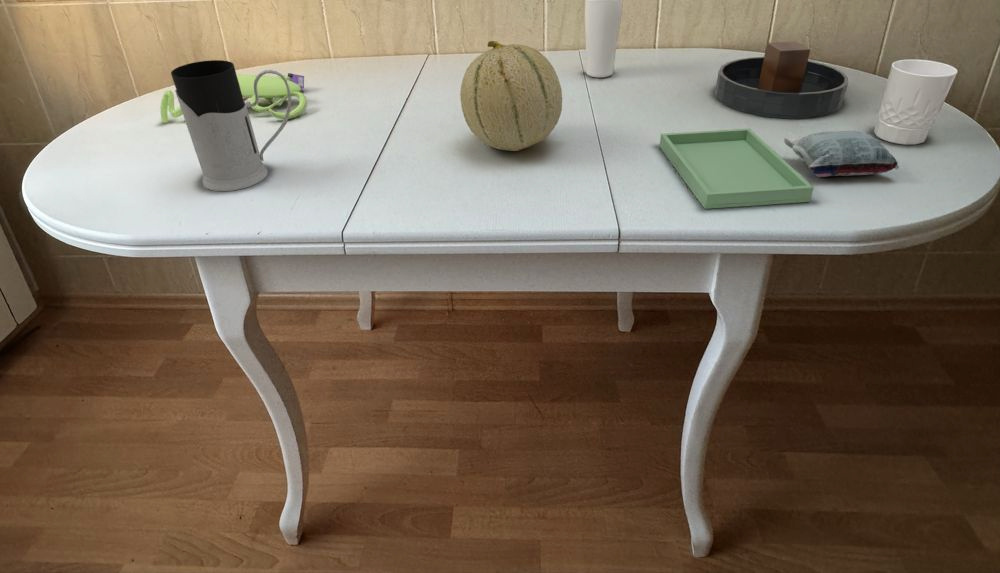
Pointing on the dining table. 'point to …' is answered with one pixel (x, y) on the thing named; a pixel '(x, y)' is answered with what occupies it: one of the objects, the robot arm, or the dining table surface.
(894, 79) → the white cup
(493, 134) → the cantaloupe
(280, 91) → the green coiled cable
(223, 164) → the glass holder
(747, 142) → the tray
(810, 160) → the grey bean bag
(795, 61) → the block
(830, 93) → the pan
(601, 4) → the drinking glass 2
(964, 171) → the dining table surface
